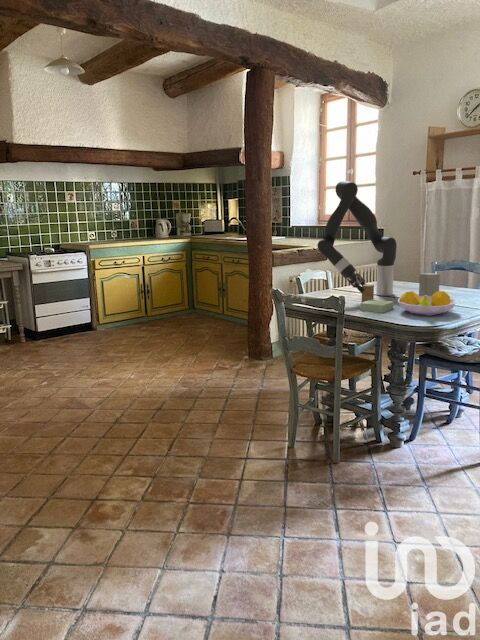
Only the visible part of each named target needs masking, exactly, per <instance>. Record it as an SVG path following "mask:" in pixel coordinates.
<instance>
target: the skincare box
mask: <svg viewBox="0 0 480 640" xmlns="http://www.w3.org/2000/svg"><path fill="white" fill-rule="evenodd" d="M440 278H441V274H440V273H434V272H431V273H430V272H429V273H428V272H427V273H425V272H424V273H419V288H418V295H419V296H424V295H426V296H432V295H433V294H434V293H435V292H436V291H440V280H441V279H440Z"/></svg>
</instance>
